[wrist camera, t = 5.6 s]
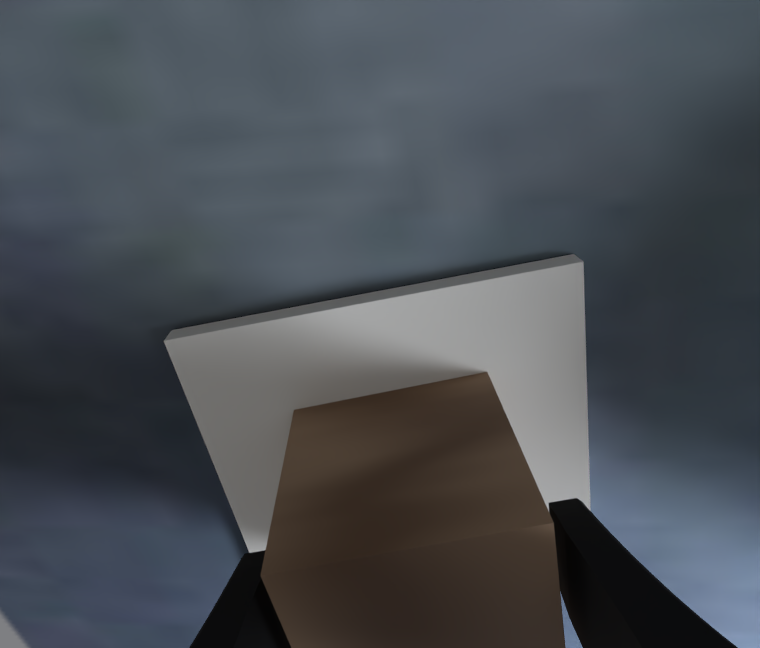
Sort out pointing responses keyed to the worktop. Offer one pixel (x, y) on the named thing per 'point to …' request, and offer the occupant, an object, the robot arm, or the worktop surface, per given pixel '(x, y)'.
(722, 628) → the worktop surface
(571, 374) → the cream tile
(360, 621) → the walnut block
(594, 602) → the robot arm
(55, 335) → the worktop surface
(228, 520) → the worktop surface
